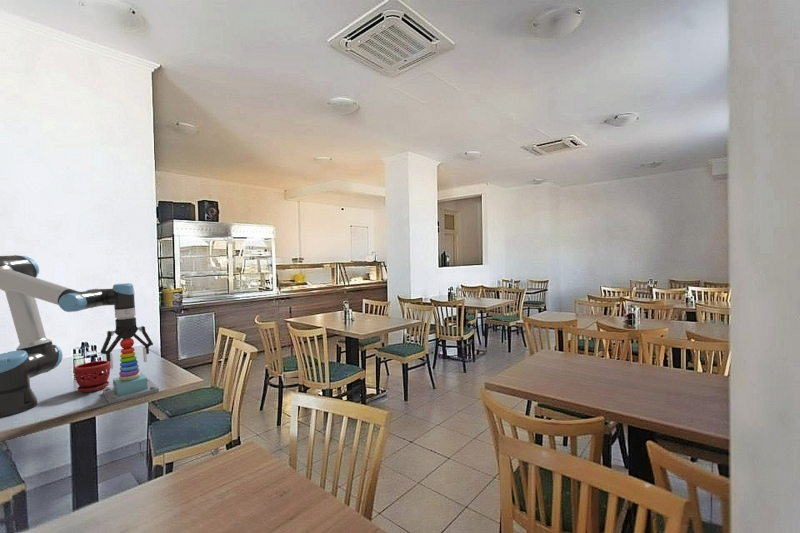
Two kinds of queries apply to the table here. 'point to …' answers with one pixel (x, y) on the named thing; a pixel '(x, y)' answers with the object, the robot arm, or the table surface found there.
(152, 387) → the baseplate
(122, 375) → the stacking toy
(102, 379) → the plant pot
